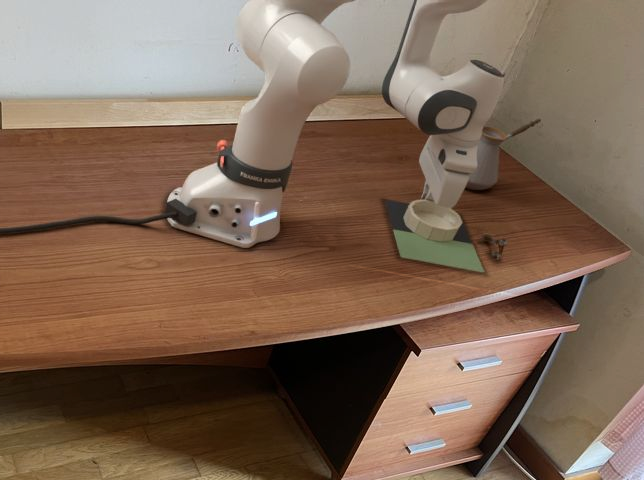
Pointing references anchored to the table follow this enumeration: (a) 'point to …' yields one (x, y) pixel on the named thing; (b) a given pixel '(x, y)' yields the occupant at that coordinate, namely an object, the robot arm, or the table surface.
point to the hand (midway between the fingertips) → (425, 203)
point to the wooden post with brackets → (496, 241)
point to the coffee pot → (490, 156)
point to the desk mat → (432, 243)
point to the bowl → (432, 220)
